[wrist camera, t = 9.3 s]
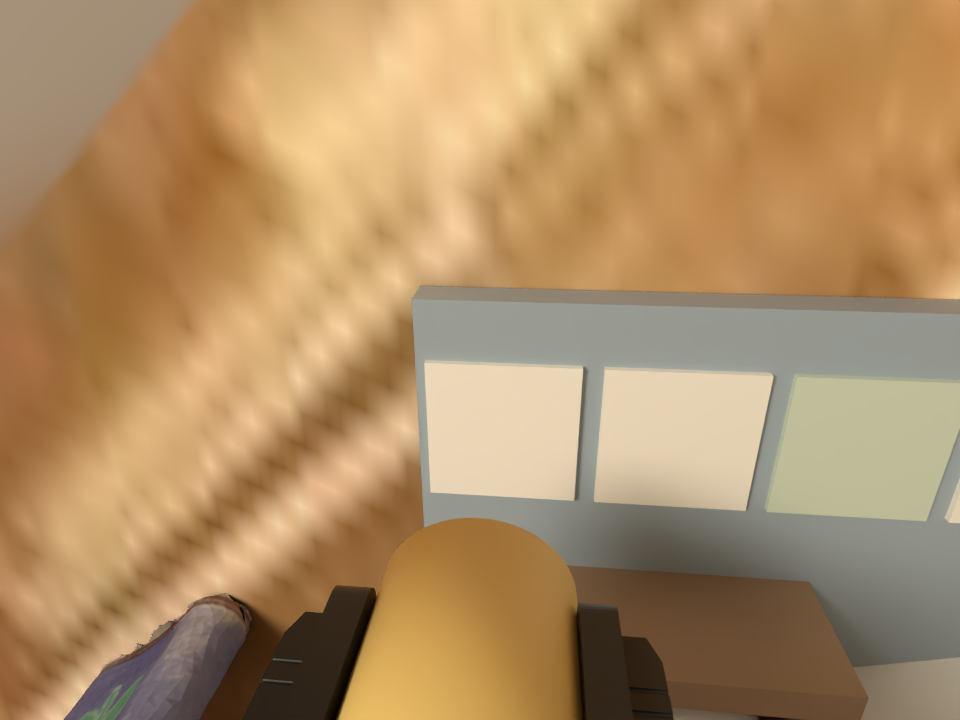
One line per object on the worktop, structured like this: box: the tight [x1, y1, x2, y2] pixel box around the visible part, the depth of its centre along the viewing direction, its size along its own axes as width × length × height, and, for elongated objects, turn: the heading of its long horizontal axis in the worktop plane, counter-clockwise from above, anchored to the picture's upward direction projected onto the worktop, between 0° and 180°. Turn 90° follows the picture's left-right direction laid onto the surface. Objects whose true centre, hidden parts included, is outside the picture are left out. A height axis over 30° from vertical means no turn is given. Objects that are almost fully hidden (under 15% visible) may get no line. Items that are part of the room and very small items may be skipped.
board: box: [412, 286, 960, 720], centre depth 18 cm, size 20×18×5 cm
